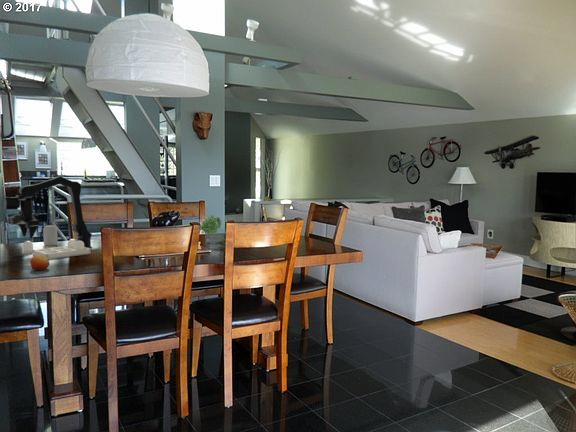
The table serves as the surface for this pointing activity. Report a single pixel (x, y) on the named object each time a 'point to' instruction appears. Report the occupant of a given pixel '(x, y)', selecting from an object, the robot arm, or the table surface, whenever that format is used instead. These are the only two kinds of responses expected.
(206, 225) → the plant cuttings
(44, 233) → the can
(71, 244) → the carton
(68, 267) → the table surface
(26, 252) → the egg
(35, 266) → the fruit
